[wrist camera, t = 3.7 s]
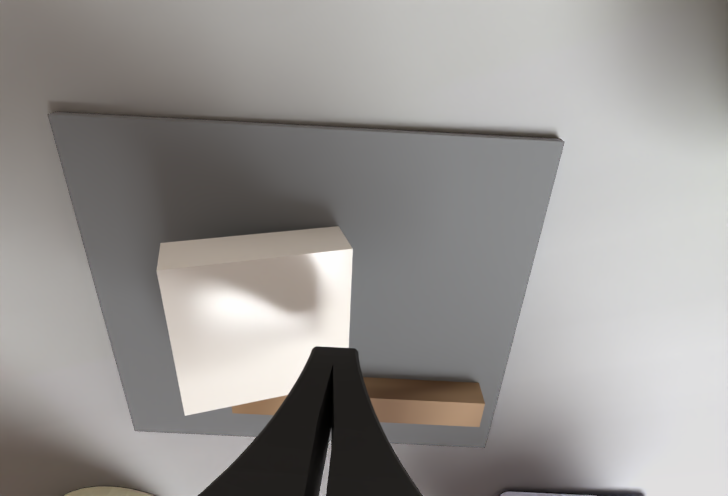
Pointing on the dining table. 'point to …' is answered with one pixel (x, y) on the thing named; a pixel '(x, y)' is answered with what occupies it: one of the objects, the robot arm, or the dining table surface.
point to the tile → (252, 311)
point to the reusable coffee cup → (106, 492)
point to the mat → (308, 211)
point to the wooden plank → (407, 402)
